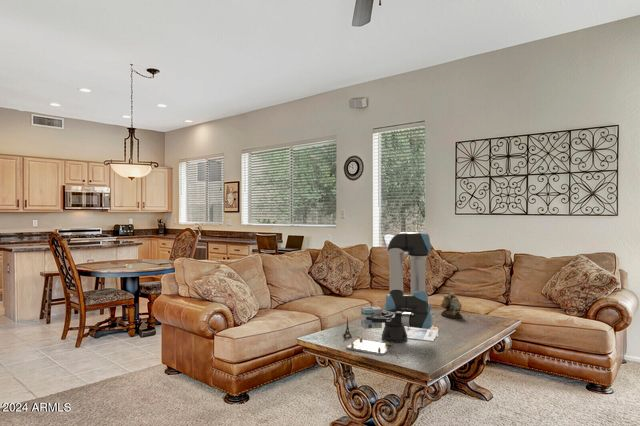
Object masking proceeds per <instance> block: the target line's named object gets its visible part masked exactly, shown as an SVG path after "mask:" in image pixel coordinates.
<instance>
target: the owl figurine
mask: <svg viewBox="0 0 640 426" xmlns="http://www.w3.org/2000/svg"><path fill="white" fill-rule="evenodd" d="M440 306H441V308H443V309H445V310H443V311H441V313H440V316H442V317H444V318H446V319H447V318H448V319H453V320H460V319H463V318H464V316H463V314H461V310H462V303H461V301H460V300H459V298H458V297H457V296H456V294H455V293H454V292H450V293H448V294H447V293H446V294H444V295H443V299H442V301H441V303H440Z"/></svg>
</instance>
